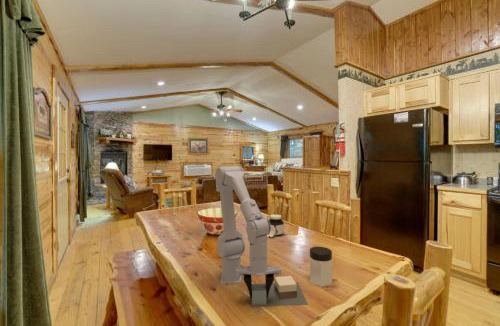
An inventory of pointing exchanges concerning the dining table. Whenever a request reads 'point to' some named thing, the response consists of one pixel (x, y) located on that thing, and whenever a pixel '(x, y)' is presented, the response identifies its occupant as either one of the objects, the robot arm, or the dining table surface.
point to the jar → (320, 266)
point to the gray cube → (258, 294)
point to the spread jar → (276, 225)
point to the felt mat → (276, 301)
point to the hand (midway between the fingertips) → (258, 296)
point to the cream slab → (285, 284)
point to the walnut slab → (285, 293)
